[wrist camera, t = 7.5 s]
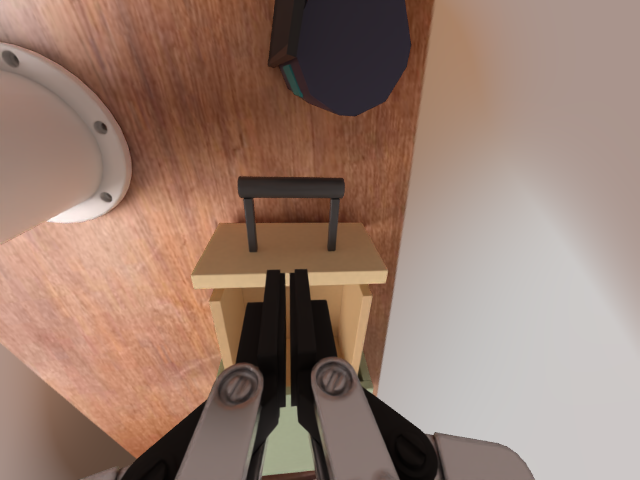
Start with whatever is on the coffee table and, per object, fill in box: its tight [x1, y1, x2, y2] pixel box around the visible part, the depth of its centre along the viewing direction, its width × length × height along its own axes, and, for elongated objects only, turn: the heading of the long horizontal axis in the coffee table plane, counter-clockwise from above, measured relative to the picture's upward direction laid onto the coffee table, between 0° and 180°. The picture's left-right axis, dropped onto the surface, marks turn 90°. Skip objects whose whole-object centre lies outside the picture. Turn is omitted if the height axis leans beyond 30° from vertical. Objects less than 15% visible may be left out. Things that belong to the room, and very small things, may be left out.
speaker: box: [268, 0, 411, 116], centre depth 14 cm, size 8×6×10 cm
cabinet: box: [216, 350, 373, 476], centre depth 31 cm, size 17×15×10 cm
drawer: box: [191, 176, 388, 387], centre depth 23 cm, size 21×13×8 cm, turn 178°
